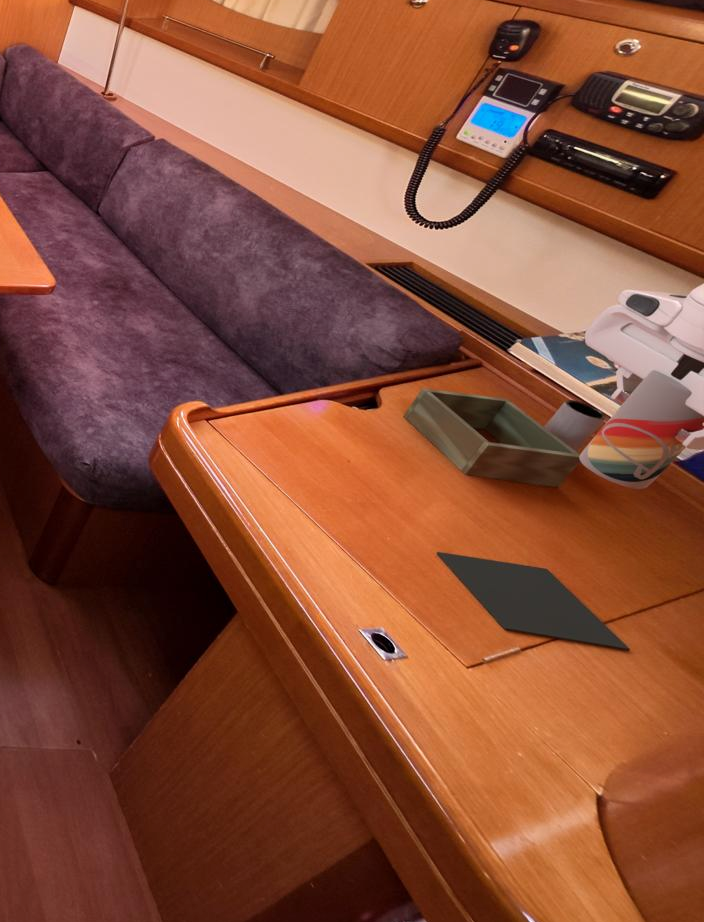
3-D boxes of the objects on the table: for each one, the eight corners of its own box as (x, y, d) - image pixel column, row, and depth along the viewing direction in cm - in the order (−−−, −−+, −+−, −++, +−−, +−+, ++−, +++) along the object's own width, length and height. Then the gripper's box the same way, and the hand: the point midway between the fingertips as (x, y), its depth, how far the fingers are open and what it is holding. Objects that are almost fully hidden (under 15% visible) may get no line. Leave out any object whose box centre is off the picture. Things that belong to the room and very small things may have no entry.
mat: (545, 570, 90) (547, 568, 90) (628, 650, 80) (630, 649, 80) (436, 553, 92) (437, 551, 92) (504, 630, 82) (506, 628, 82)
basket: (485, 426, 115) (506, 398, 112) (558, 487, 103) (584, 457, 100) (402, 416, 117) (422, 388, 114) (465, 474, 105) (488, 445, 102)
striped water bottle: (605, 484, 79) (716, 361, 70) (564, 450, 83) (663, 331, 75) (662, 494, 77) (783, 370, 69) (617, 459, 82) (724, 339, 73)
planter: (530, 438, 113) (565, 395, 108) (568, 453, 110) (606, 410, 105) (529, 450, 110) (565, 407, 106) (569, 466, 107) (607, 423, 103)
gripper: (906, 402, 61) (796, 498, 67) (667, 288, 79) (597, 372, 85) (827, 393, 62) (726, 488, 68) (609, 283, 80) (544, 366, 86)
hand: (653, 422), depth 77 cm, fingers closed on striped water bottle, 5 cm apart
